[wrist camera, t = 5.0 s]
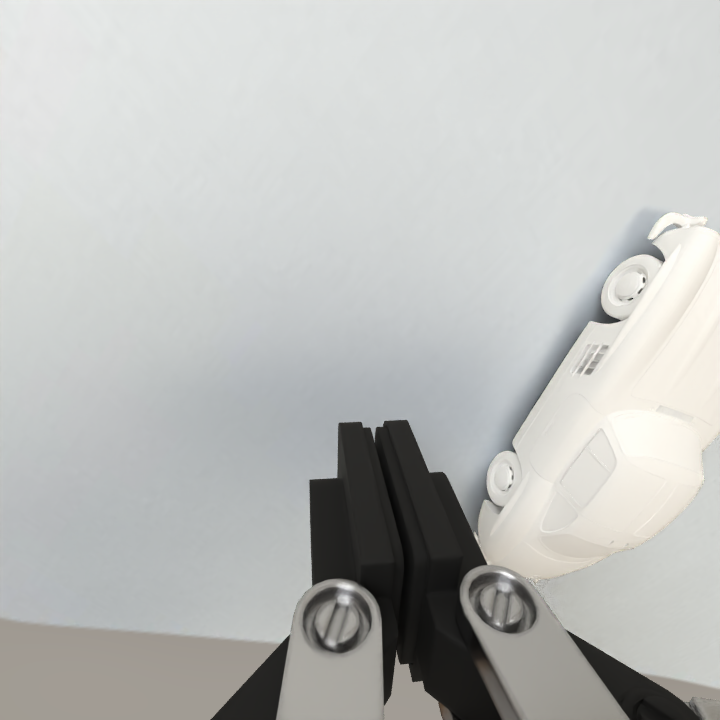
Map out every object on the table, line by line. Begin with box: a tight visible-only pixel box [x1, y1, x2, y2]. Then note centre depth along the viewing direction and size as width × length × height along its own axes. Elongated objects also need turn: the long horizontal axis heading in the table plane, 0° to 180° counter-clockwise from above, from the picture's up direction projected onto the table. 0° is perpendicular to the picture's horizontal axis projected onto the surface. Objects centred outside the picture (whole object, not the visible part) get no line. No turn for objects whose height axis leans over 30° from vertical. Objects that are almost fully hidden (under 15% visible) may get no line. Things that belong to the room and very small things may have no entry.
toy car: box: [474, 212, 720, 583], centre depth 12 cm, size 5×12×4 cm, turn 157°
